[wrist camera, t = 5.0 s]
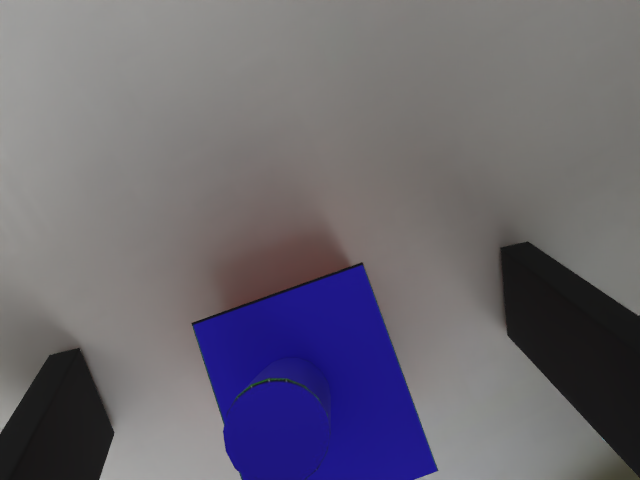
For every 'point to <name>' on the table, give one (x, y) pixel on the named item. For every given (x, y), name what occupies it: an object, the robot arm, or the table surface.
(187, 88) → the table surface
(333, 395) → the toy building block
